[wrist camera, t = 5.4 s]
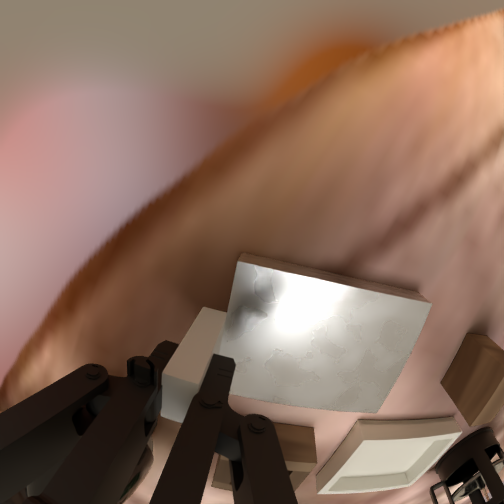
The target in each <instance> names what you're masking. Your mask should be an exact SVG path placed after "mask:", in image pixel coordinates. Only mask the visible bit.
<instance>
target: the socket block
mask: <svg viewBox="0 0 504 504" xmlns="http://www.w3.org/2000/svg"><path fill="white" fill-rule="evenodd" d="M273 424H274V426H275V429H276V433H277V436H278V440H279V443H280V446H281V450H282V453H283V457H284V460H285V463H286V467H287V470H288V473H289V477H290V480H291V483H292V486H293V490H294V491H295V490H296V489H297V488H298V487H299V485H300V484H301V483H302V482H303V481H304V479H305V478H306V477H307V476H308V474H309V473H310V472H311V471H312V469H313V468H314V467H315V466H316V464H317V456H316V445H315V435H314V428H312V427H303V426H295V425H288V424H281V423H275V422H273ZM211 487H215V488H220V489H224V490H229V491H233V490H232V483H231V475H230V468H229V459H228V458H226V457H224V456H222V455H220V454H219V457H218V461H217V465H216V469H215V473H214V477H213V481H212V485H211Z"/></svg>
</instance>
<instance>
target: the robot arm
mask: <svg viewBox="0 0 504 504" xmlns="http://www.w3.org/2000/svg"><path fill="white" fill-rule="evenodd" d="M226 316H227V312H223V311H219V310H215V309H211V308H207V307H203V308H202V309H201V311H200V313H199V314H198V316H197V317H196V319H195V321H194V322H193V324H192V325H191V327H190V329H189V330H188V332H187V333H186V335H185V337H184V338H183V340H182V341H181V343H180V344H176V343H173V342H170V341H167V340H166V341H164V342H162V343H160V344H158V345H157V347H156V348H155V349H154V351H153V352H152V353H151V356H149V357H144V356H135V357H132V358H130V359H128V360H127V374H128V376H127V377H116V376H110V375H108V372H107V370H106V369H105V368H104V367H103V366H101V365H98V364H86V365H84V366H82V367H80V368H78V369H77V370H75V371H73V372H72V373H70V374H68V375H66V376H65V377H63V378H61V379H60V380H58V381H56V382H54V383H53V384H51V385H49V386H48V387H46V388H44V389H42V390H41V391H39V392H37V393H35V394H34V395H32V396H30V397H28V398H27V399H25V400H23V401H21V402H20V403H18V404H16V405H14V406H13V407H11V408H9V409H7V410H6V411H4V412H2V413H0V504H117V503H118V501H119V499H120V497H121V495H122V493H123V491H124V489H125V487H126V485H127V483H128V481H129V479H130V477H131V475H132V473H133V471H134V469H135V467H136V465H137V463H138V461H139V459H140V457H141V455H142V453H143V451H144V449H145V447H146V445H147V443H148V441H149V439H150V437H151V435H152V433H153V431H154V429H155V427H156V425H157V416H158V414H159V412H160V410H161V416H162V417H165V418H167V419H171V420H174V421H177V422H180V423H182V425H181V428H180V430H179V433H178V435H177V437H176V440H175V442H174V445H173V447H172V450H171V452H170V454H169V457H168V459H167V462H166V464H165V467H164V469H163V471H162V474H161V476H160V479H159V481H158V484H157V486H156V488H155V491H154V493H153V496H152V498H151V500H150V503H149V504H201V500H202V496H203V493H204V489H205V485H206V481H207V478H208V474H209V470H210V466H211V462H212V459H213V455H214V451H215V452H217V453H218V454H220V455H222V456H224V457H226V458H228V459H229V468H230V475H231V483H232V490H233V497H234V504H298V502H297V499H296V496H295V493H294V490H293V486H292V483H291V480H290V477H289V473H288V470H287V467H286V463H285V460H284V457H283V453H282V450H281V446H280V443H279V440H278V436H277V433H276V429H275V426H274V424H273V422H272V421H271V420H270V419H268V418H267V417H265V416H262V415H258V414H251V415H247V416H245V417H244V416H242V415H240V414H238V413H236V412H234V411H233V410H232V409H231V408H230V406H229V404H228V396H229V392H230V388H231V384H232V380H233V376H234V371H235V367H236V364H235V361H234V359H233V358H230V357H226V356H222V355H219V352H220V347H221V341H222V336H223V331H224V326H225V321H226ZM66 456H67V458H66V459H65V461H64V462H63V463H62V465H61V466H60V468H59V469H58V470H57V472H56V473H55V475H54V476H53V477H52V479H51V480H50V482H49V483H48V485H47V486H46V487H45V489H44V490H43V492H42V493H41V494H40V495H38V496H30V497H28V498H27V496H26V491H25V487H26V486H28V485H29V484H30V483H32V482H33V481H34V480H36V479H37V478H39V477H40V476H41V475H43V474H44V473H45V472H47V471H48V470H49V469H51V468H52V467H53V466H55V465H56V464H57V463H58V462H60V461H61V460H62V459H64V458H65V457H66Z"/></svg>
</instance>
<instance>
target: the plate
mask: <svg viewBox="0 0 504 504" xmlns="http://www.w3.org/2000/svg"><path fill="white" fill-rule="evenodd" d="M431 306H432V303H431V302H430V301H428V300H427V299H426V298H425V297H424V296H422V295H421V294H420V293H419V292H416V291H411V290H407V289H402V288H398V287H393V286H389V285H385V284H380V283H376V282H371V281H367V280H362V279H358V278H354V277H349V276H345V275H340V274H336V273H331V272H327V271H323V270H318V269H314V268H309V267H305V266H301V265H296V264H292V263H287V262H283V261H279V260H274V259H270V258H266V257H261V256H257V255H252V254H248V253H244V252H243V253H242V254H241V256H240V258H239V260H238V262H237V267H236V271H235V276H234V281H233V286H232V291H231V296H230V301H229V306H228V311H227V316H226V321H225V326H224V331H223V336H222V341H221V347H220V352H219V355H222V356H226V357H230V358H233V359H234V361H235V364H236V367H235V371H234V376H233V380H232V384H231V388H230V392H229V394H233V395H237V396H242V397H246V398H251V399H256V400H261V401H267V402H272V403H278V404H284V405H291V406H298V407H305V408H314V409H323V410H333V411H346V412H363V413H377V412H378V410H379V409H380V407H381V406H382V404H383V402H384V401H385V399H386V398H387V396H388V394H389V393H390V391H391V389H392V387H393V386H394V384H395V382H396V380H397V378H398V377H399V375H400V373H401V371H402V369H403V367H404V365H405V363H406V362H407V360H408V358H409V356H410V354H411V352H412V349H413V347H414V345H415V343H416V341H417V339H418V337H419V334H420V332H421V330H422V328H423V325H424V323H425V321H426V318H427V316H428V313H429V311H430V308H431Z"/></svg>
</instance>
